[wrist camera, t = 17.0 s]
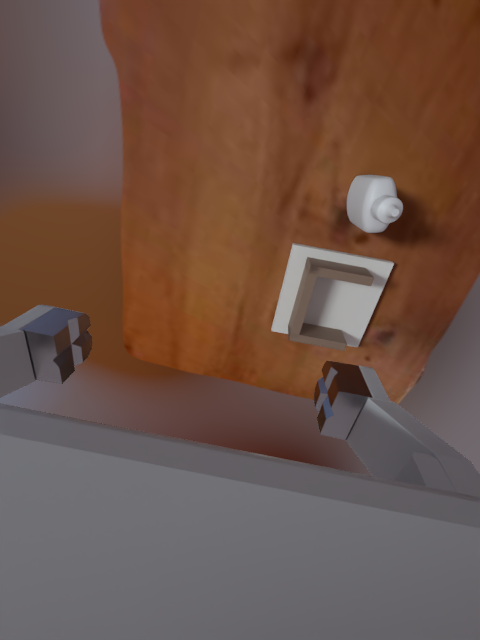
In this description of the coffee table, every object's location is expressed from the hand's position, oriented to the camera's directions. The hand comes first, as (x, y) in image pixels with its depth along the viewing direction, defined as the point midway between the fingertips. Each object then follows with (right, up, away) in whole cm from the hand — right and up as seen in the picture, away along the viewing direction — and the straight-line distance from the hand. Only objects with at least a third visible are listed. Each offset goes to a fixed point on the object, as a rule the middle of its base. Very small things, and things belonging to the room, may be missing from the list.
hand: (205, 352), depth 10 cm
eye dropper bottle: (+17, +17, +27) cm, 36 cm away
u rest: (+14, +5, +34) cm, 37 cm away
